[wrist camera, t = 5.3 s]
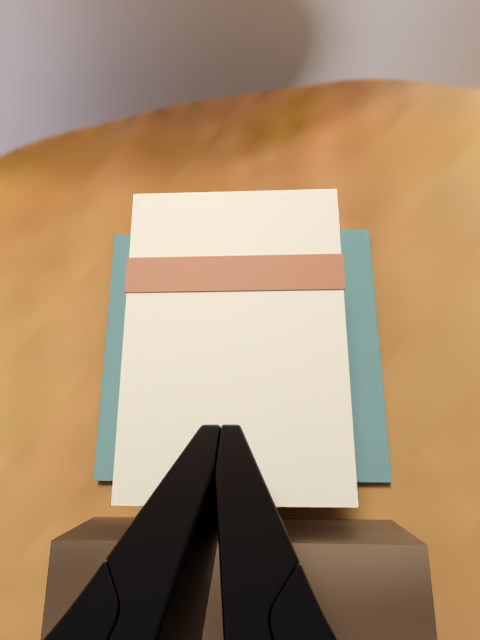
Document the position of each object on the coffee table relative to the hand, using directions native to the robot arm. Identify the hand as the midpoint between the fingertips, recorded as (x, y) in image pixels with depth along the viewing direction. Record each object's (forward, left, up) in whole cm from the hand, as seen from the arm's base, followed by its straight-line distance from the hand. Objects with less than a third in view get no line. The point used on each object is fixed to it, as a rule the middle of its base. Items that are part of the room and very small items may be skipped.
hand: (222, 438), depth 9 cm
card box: (-2, 0, -6) cm, 6 cm away
